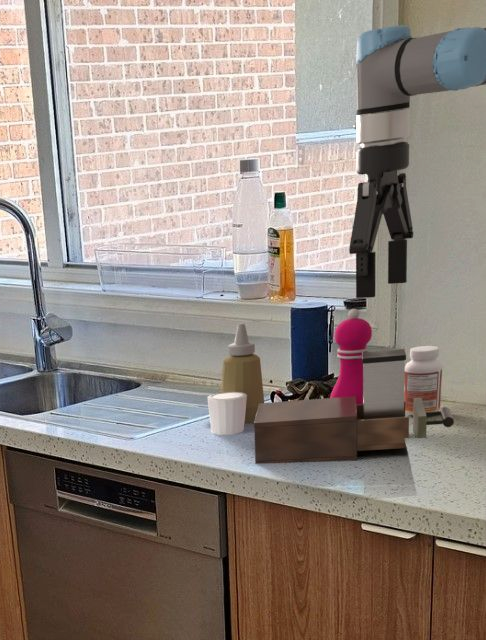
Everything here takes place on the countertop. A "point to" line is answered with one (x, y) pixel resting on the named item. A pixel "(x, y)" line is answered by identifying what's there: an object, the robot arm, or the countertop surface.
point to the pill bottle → (423, 379)
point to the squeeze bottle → (243, 373)
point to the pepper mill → (351, 356)
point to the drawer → (396, 427)
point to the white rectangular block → (383, 384)
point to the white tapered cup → (227, 412)
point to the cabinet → (306, 431)
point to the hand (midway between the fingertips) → (381, 290)
